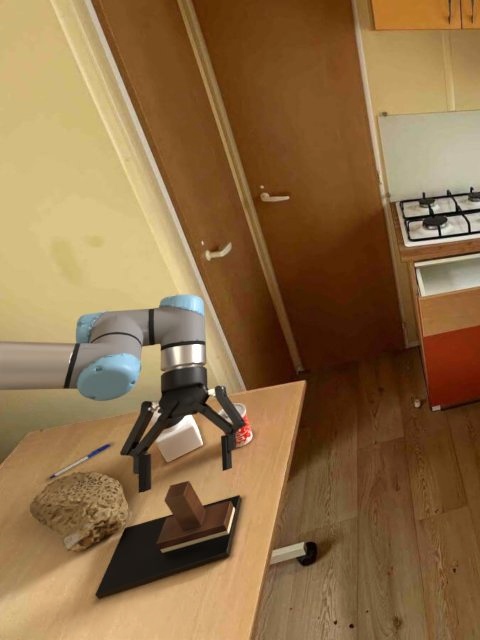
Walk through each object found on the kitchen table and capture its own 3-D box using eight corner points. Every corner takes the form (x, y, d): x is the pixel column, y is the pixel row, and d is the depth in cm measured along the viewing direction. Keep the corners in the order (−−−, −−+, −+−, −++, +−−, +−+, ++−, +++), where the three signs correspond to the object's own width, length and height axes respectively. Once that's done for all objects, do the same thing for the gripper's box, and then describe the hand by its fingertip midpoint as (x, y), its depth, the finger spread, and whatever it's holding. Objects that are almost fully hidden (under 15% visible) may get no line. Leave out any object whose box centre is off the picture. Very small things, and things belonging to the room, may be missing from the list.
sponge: (144, 521, 86) (114, 454, 96) (121, 509, 81) (91, 440, 90) (64, 581, 79) (39, 502, 88) (33, 572, 74) (10, 489, 83)
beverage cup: (225, 453, 99) (205, 411, 93) (229, 434, 104) (210, 392, 98) (255, 444, 101) (237, 402, 95) (257, 425, 106) (240, 384, 100)
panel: (98, 599, 73) (94, 595, 73) (127, 532, 83) (124, 527, 83) (229, 557, 79) (226, 552, 79) (241, 499, 89) (239, 494, 89)
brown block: (162, 553, 79) (134, 512, 73) (172, 526, 83) (146, 486, 77) (228, 533, 82) (207, 493, 76) (235, 509, 86) (215, 469, 80)
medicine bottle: (198, 427, 106) (180, 392, 100) (203, 445, 101) (185, 409, 96) (163, 444, 101) (142, 408, 96) (167, 463, 97) (146, 427, 91)
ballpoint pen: (109, 444, 102) (108, 442, 101) (111, 446, 101) (109, 443, 101) (50, 478, 94) (48, 475, 93) (51, 480, 93) (49, 477, 93)
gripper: (257, 357, 94) (265, 458, 88) (122, 384, 86) (120, 496, 81) (246, 354, 87) (253, 463, 81) (97, 383, 80) (94, 505, 74)
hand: (187, 480), depth 81 cm, fingers open, 13 cm apart
